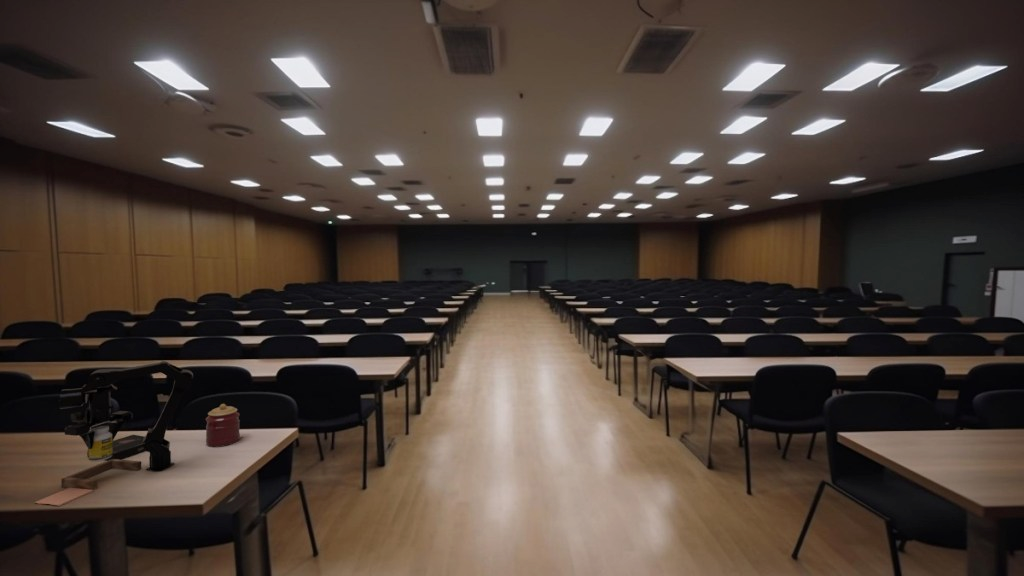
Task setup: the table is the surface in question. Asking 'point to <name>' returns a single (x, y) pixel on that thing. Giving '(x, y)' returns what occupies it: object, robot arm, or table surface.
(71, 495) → the terracotta mat
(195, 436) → the table surface
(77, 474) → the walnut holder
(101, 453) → the pill bottle
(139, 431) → the table surface
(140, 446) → the portable cd player
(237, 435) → the canister
